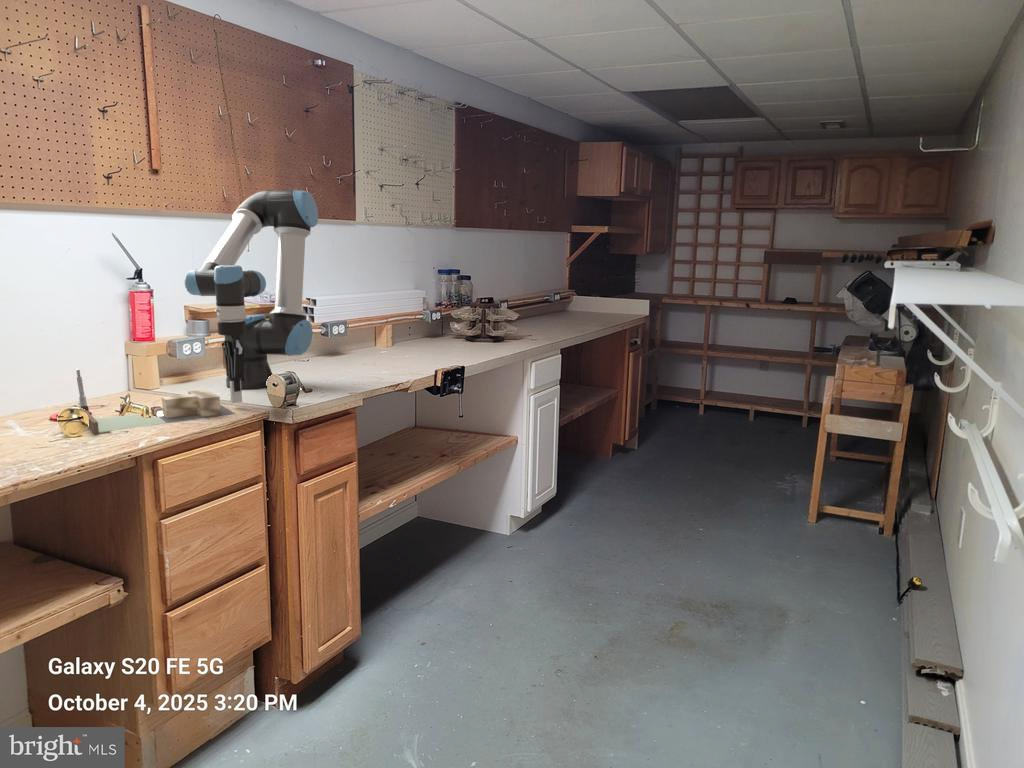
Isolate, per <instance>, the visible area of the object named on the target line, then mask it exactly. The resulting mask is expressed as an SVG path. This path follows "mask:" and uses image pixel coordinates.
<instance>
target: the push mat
mask: <svg viewBox="0 0 1024 768" xmlns="http://www.w3.org/2000/svg"><path fill="white" fill-rule="evenodd" d="M220 410H221V414H217V415H210V416H203V417H202V416H200V415H199V414H192V415H185V416H177V417H170V418H167V417H165V416H163V417H156V416H153V417H151V418H148V419H145V418H143V417H142V416H141V414H138V413H131V414H130V413H129V414H123V415H124V416H121V415H115V416H108V417H107V416H106V417H98V418H94V416H92V415H90V414H89V412H90V411H89V412H88V411H87V410H85V411H86V412H87V414H88V417H89V428H88V429H89V430H90V431H91V432H92V434H93V435H100V434H106V433H108V434H109V433H111V432H113V431H118V430H121V431H122V430H126V429H127V430H128V429H135V428H140V427H141V428H142V427H150V426H156V425H162V424H163V425H165V424H170V423H178V422H187V421H193V420H200V419H201V420H202V419H208V418H214V417H215V418H216V417H222V416H223V417H224V416H229V415H236V413H235V412H233V411H232V410H230V409H228V408H226V407H225V406H223V405H221V404H220Z"/></svg>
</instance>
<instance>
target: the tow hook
mask: <svg viewBox="0 0 1024 768" xmlns="http://www.w3.org/2000/svg"><path fill="white" fill-rule="evenodd" d="M76 381H77V389H78V394H79V397H78V400H79V408H80V407H81V408H83V409H85V410H87V411H88V412H89V414H90V415H91V416H92V414H93V413H92V412H91V411H90V408H89V406H88V403H87V397H86V395H85V391H84V390H85V389H84V385H83V384H84V383H83V378H82V376H81V370H80V369H77V368H76ZM59 413H60V412H56V413H53V414H51V415H50V416H49V420H50V421H52V420H54V421H53V422H58V421H57V418H58V417H57V416H58V414H59Z"/></svg>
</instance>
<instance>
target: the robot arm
mask: <svg viewBox="0 0 1024 768" xmlns="http://www.w3.org/2000/svg"><path fill="white" fill-rule="evenodd" d="M231 218H232V221H231V223H230V224H229V226H228V227H227V228H226V230H225V231H224V233H223V235H222V236H221V237H220V239H219V241H218V242H217V243H216V245H215V246H214V248H213V249H212V251H211V253H210V254H209V255H208V257H207V258H206V259H205V261H204V262H203V264H202V266H201V267H200V269H191V270H188V272H186V274H185V276H184V286H185V289H186V291H187V292H188V293H189V295H193V296H200V297H215V303H216V304H215V305H216V309H215V310H214V312H215V313H216V316H217V317H216V318H217V320H218V321H217V333H218V335H220V336H223V337H224V341H223V342H222V343H221V347H222V351H223V352H222V353H223V358H224V366H225V372H226V373H225V374H226V379H225V385H226V387H227V388H229V390H230V403H232V404H235V403H242V402H243V391H242V390H247V389H248V390H250V389H251V390H252V389H260V388H261V389H263V388H266V387H265V386H266V381H267V379H268V377H269V376H271V375H273V376H274V374H273V372H272V369H271V367H270V364H269V362H268V356H269V355H274V356H275V355H276V356H289V357H292V356H302V355H304V354H305V353H306V352H307V351H308V349H309V348H310V346H311V344H312V343H311V342H312V338H313V325H312V324H311V322H310V321H309V320H307V314H305V313H304V311H303V296H304V294H303V293H304V292H303V291H304V275H305V273H304V270H305V251H306V249H305V248H306V239H307V237H309V235H311V230H312V229H311V228H315V227H316V226H317V224H318V222H319V210H318V206H317V202H316V201H315V198H314V197H313V195H312V194H311V193H310V192H309V191H306V190H298V189H293V190H291V189H290V190H288V189H286V190H285V189H284V190H283V189H281V190H278V189H277V190H275V189H274V190H273V189H272V190H271V189H267V190H266V189H265V190H261V191H257V192H255V193H254V194H252V195H250V196H249V197H247V198H246V199H244V200H243V201H242V202H241V203H240V204H239V205H238V207H237V208H236V209H235V210H234V212H233V214H232V215H231ZM266 227H273V231H274V232H275V233H276V235H277V251H276V252H277V253H276V254H277V255H276V270H275V271H276V272H275V273H276V275H275V293H274V308H273V309H272V310H271V311H269V313H268V314H269V317H268V318H266V315H265V314H263V313H261V314H252V315H247V314H246V304H245V298H249V297H252V298H254V297H256V296H259V295H261V294H262V293H264V291H265V290H266V287H267V282H266V278H265V276H264V275H263V274H262V273H261V272H259V271H258V270H253V269H251V270H250V269H249V270H243V267H242V266H241V265H239V264H238V265H236V264H237V261H239V259H240V257H241V256H242V254H243V253H244V251H245V249H246V248H247V246H248V245H249V243H250V241H251V240H252V238H253V237H254V235H257V234H258V233H260V232H261V230H262V229H264V228H266Z"/></svg>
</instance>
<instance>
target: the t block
mask: <svg viewBox="0 0 1024 768" xmlns="http://www.w3.org/2000/svg"><path fill="white" fill-rule="evenodd" d="M187 392H188V394H179V395H170V396H162V397H161V403H162V410H163V414H164V416H165V417H167V418H170V417H177V416H185V415H192V414H199V415H200V416H202V417H203V416H210V415H217V414H221V410H220V405H221V398H220V396H219V395H217V394H216V393H214V392H212V391H211V390H209V389H207V388H206V389H198V390H189V391H187Z"/></svg>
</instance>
